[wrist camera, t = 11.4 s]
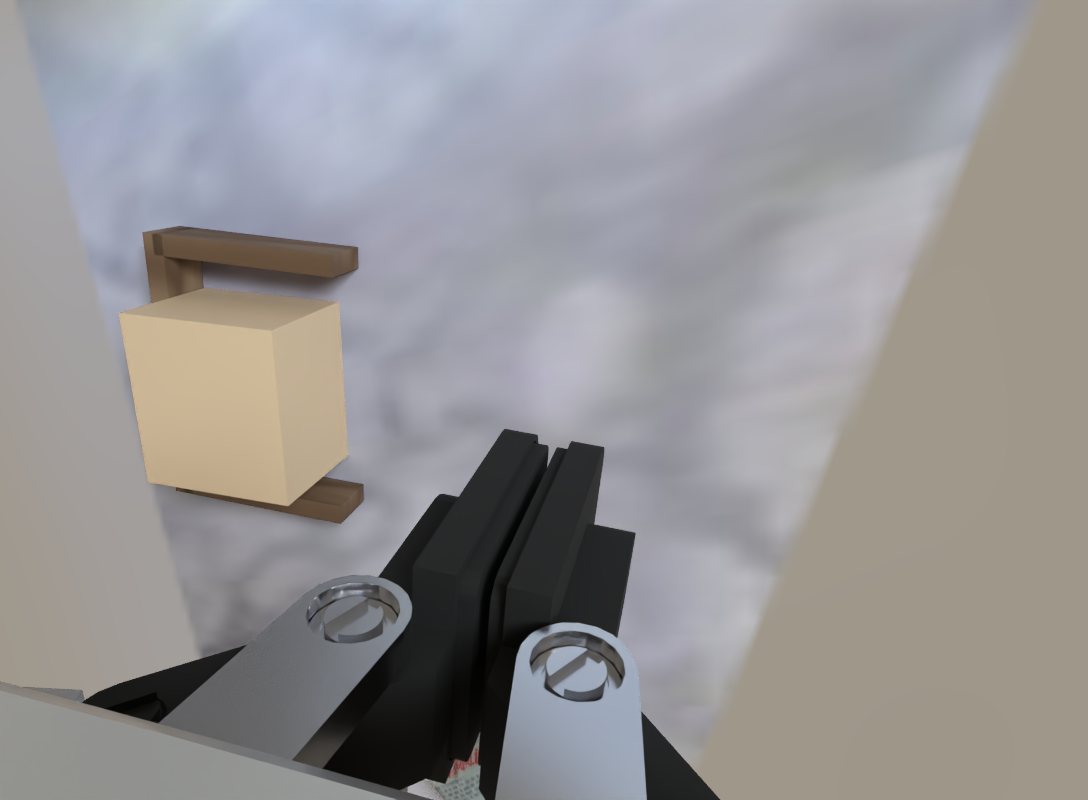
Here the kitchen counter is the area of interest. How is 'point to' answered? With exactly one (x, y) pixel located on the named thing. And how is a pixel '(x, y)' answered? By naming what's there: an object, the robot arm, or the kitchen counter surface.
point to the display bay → (184, 248)
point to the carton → (238, 392)
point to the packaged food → (462, 779)
